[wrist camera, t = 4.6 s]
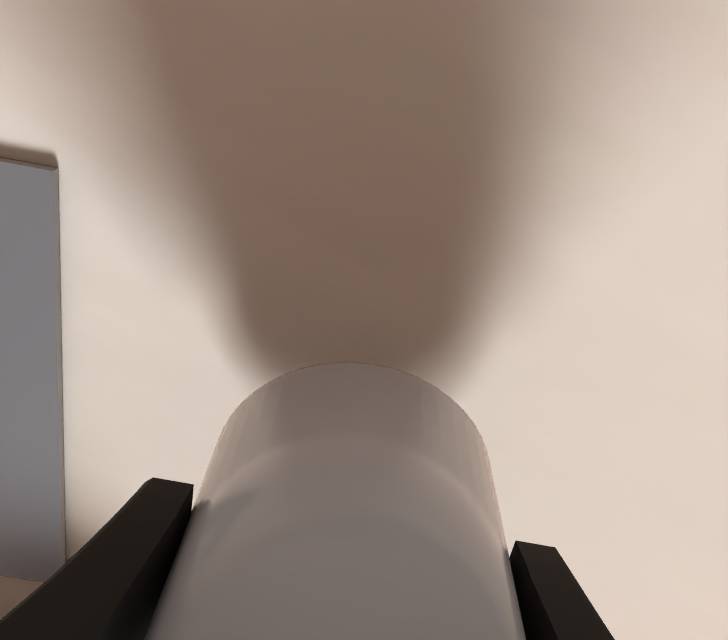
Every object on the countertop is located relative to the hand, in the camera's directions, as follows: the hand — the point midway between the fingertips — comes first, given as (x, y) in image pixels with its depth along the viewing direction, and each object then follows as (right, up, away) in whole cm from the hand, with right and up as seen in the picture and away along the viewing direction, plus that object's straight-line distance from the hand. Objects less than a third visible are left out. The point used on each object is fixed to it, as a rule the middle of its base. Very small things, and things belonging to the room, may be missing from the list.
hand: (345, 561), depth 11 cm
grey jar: (0, +1, +1) cm, 2 cm away
